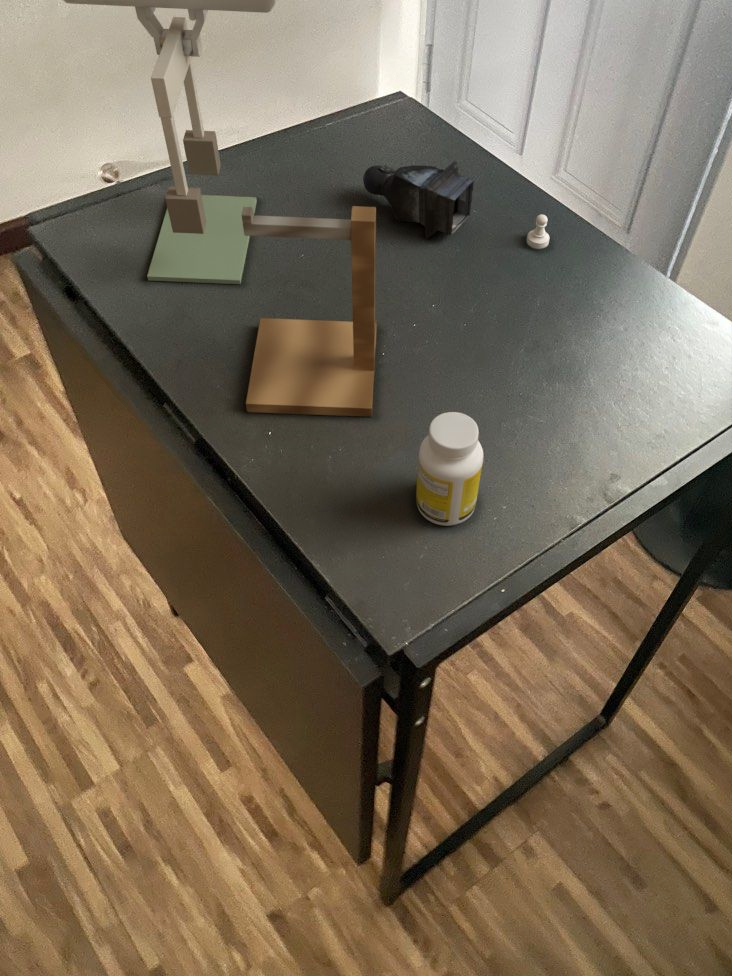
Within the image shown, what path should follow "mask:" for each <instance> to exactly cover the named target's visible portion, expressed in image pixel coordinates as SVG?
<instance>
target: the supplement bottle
mask: <svg viewBox="0 0 732 976" xmlns="http://www.w3.org/2000/svg"><path fill="white" fill-rule="evenodd" d="M429 424H430V425H429V428H428V435H426V436H425V437H424V438H423V440H422V442H421V444H420V446H419V451H418V458H417V459H418V461H417V476H416V492H415V494H416V495H415V501H416V506H417V509H418V512H419V513H420V514H421V515H422V516H423V517H424V518H425V519H426V520H427V521H429V522H431V523H432V524H435V525H439V526H446V527H447V526H448V527H449V526H457V525H459V524H462V523H463V522H465V521H466V520H469V518H470V517H471V516H472V515H473V513H474V512H475V509H476V506H477V500H478V495H479V487H480V481H481V475H482V469H483V464H484V449H483V447H482V444H481V442H480V441H479V433H480V432H479V431H480V430H479V427H478V426H479V425H478V424H477V422H476V421H475V420H474V419H473V418H472V417H470V416H469V415H467V414H465V413H462V412H458V411H448V412H443V413H441V414H439V415H437V416H435V417H434V418H433V419H432V421H431V422H430V423H429Z"/></svg>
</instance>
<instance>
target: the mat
mask: <svg viewBox="0 0 732 976" xmlns="http://www.w3.org/2000/svg"><path fill="white" fill-rule="evenodd" d="M201 195H202V201H203V206H204V211H205V217H206V226H205V230H204V234H194V233H173V230H172V226H171V222H170V217H169V213H168V208H167V207H166V210H165V214H164V217H163V221H162V224H161V228H160V230H159V234H158V238H157V241H156V243H155V248H154V251H153V254H152V258H151V261H150V263H149V264H150V265H149V268H148V272H147V275H146V277H147V281H150V282H171V283H172V282H174V283H175V282H176V283H198V284H220V285H221V284H223V285H224V284H225V285H241V283H242V279H243V273H244V268H245V263H246V258H247V253H248V249H249V243H250V238H251V236H245V235H244V230H243V222H242V211H243V207H252V208H253V214H254V215H255V213H256V208H257V202H258V200H257V197H256V196H234V195H214V194H213V195H211V194H201Z"/></svg>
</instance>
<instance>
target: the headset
mask: <svg viewBox="0 0 732 976" xmlns="http://www.w3.org/2000/svg"><path fill="white" fill-rule="evenodd" d="M168 29H169V30H168V33H167V35H166V38H165V41H164V44H163V46H162V49H161V52H160V54H159V55H158V56H157V57H158V58H157V60H156V63H155V65H154V68H153V71H152V74H151V76H150V80H151V86H152V90H153V94H154V99H155V104H156V109H157V114H158V117H159V118H160V122H161V127H162V132H163V136H164V140H165V145H166V146H165V147H166V149H167V155H168V160H169V163H170V170H171V174H172V178H173V183H174V186H168V188H167V190H166V191H167V192H166V195H165V197H164V199H165V203H166V209H167V208H168V213H169V217H170V222H171V226H172V230H173V233H194V234H204V230H205V226H206V217H205V211H204V206H203V201H202V195H203V194H202V190H201V187H189V186H188V181H187V177H186V172H185V166H184V162H183V156H182V151H181V147H180V142H179V141H180V140H179V136H178V132H177V127H176V122H175V117H174V113H175V110H176V107H177V104H178V101H179V98H180V96H181V95H180V94H181V92H182V88H183V86H184V92H185V97H186V102H187V107H188V114H189V119H190V123H191V129H185V132H184V135H183V139H182V143H183V148H184V154H185V158H186V163H187V169H188V173H189V175H194V176H195V175H197V176H219V174H220V170H221V166H222V164H221V163H222V162H221V159H220V157H221V156H220V152H219V151H220V150H219V145H218V140H217V133H216V130H204V129H205V128H204V123H203V116H202V111H201V106H200V99H199V94H198V88H197V82H196V76H195V71H194V65H193V58H192V57H191V56H184V51H183V50H184V47H183V46H182V40H181V38H182V35H183V32H184V30H189V29H188V24H187V18H186V17H185V16H184V17H183V16H173V17H172V19H171V22H170V25H169V27H168Z"/></svg>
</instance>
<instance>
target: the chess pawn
mask: <svg viewBox="0 0 732 976" xmlns="http://www.w3.org/2000/svg"><path fill="white" fill-rule="evenodd" d="M547 225H548V216H547V215H545V214H539V215H537V216H536V218H535V226H536V227H535V228H534V229H533V230H530V231H528V233H527V236H526V244H527V245H528V246H529V247H530V248H532V249H535V250H536V249H537V250H541V249H544V248H545V249H546V248H547V247H548V246H549V243H550V234H549V233H548V232H546V230H545V228H546V227H547Z"/></svg>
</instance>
